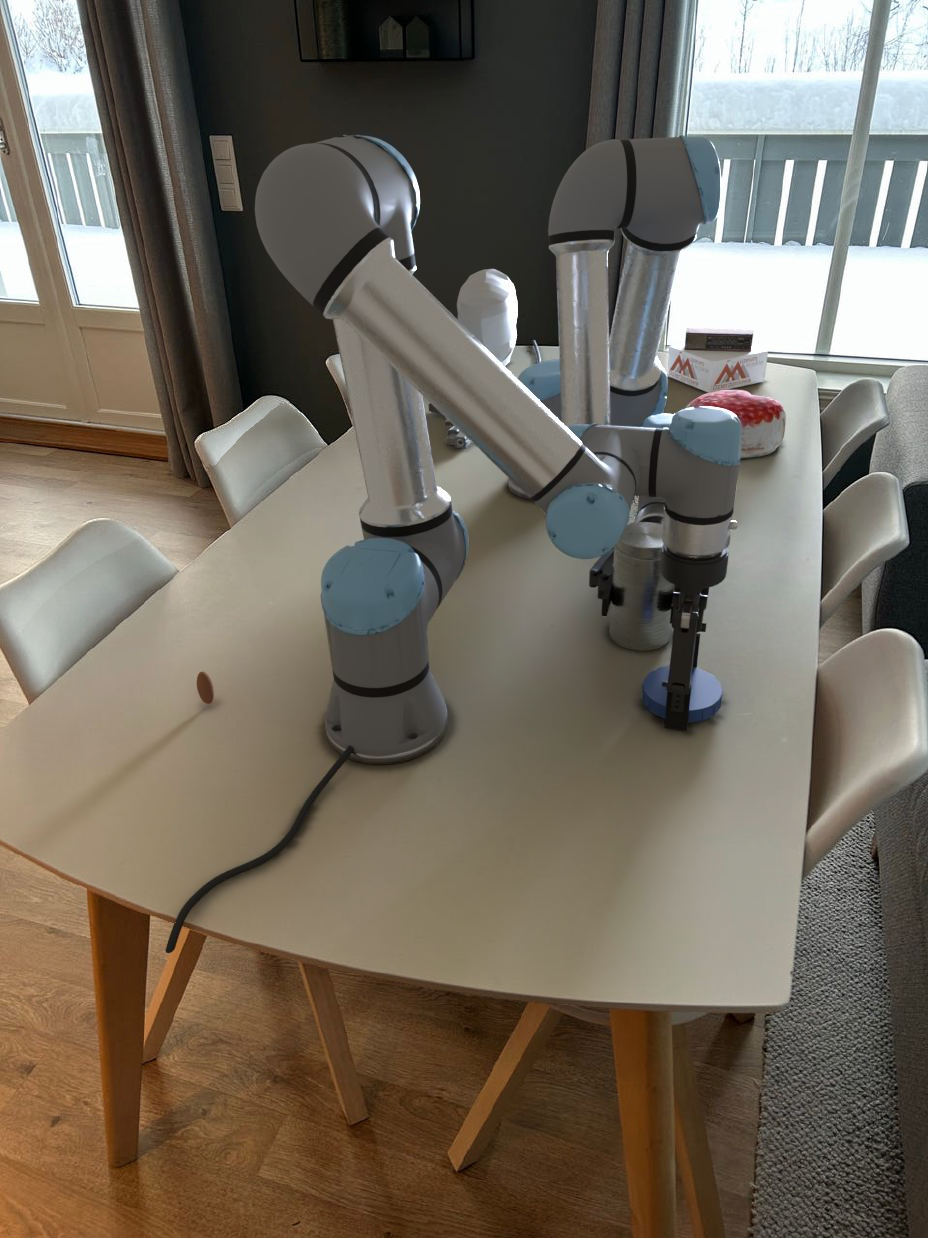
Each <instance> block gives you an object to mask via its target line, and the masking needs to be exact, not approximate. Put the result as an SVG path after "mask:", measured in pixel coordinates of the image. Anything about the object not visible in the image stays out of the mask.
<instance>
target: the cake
mask: <svg viewBox="0 0 928 1238" xmlns="http://www.w3.org/2000/svg"><path fill="white" fill-rule="evenodd" d="M698 407H716V408H721V409H724V410H727V411H730V412H732V413H733V414H735V415H736V416H737V417H738V418H739V420H740V422H741V425H742V438H741V455H740V459H747V458H755V457H756V458H757V457H764V456H766V455H770V454H771V453H773V452H775V451H776V450H777V448H779V447H780V446H781V444H782V442H783V439H784V437H785V431H786V425H787V414H786V411H785V409H784V407H783V405H782V404H781V403H780V402H779V401H778V400H776V399H775V398H773V397H769V396H762V395H756V394H752V393H751V392H749V391H747V390H743V389H727V390H721V391H717V392H711V393H708V392H706V393H705V394H702V395H700V396H698V397H696V398H695V399H693V400H692V401H690V402H689V403H688V404H687V405H686V406H685V408H684V409H686V408H698Z"/></svg>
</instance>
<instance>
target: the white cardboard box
mask: <svg viewBox="0 0 928 1238" xmlns="http://www.w3.org/2000/svg"><path fill="white" fill-rule="evenodd" d="M753 338H754V329H729V328H728V329H725V328H723V329H722V328H692V327H691V328H689V327H687V328H686V331H685V340H684V343H678V344H673V345H669V346H668V355H667V366H666V367H667V368H666V375H667V378H668V377H669V378H671V379H673V380H676V381H679V382H681V383H682V384H686V385H688V386H691V387H694V388H696V389H698V390H701V391H703V392H705V393H711V392H718V391H721V390H732V389H736V388H741V387H745V386H750V385H754V384H759V383H763V382H765V377H766V371H767V362H768V357H769V350H767V349H764V348H760V347H758V346H755V345H753Z"/></svg>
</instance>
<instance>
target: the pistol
mask: <svg viewBox="0 0 928 1238" xmlns="http://www.w3.org/2000/svg"><path fill="white" fill-rule="evenodd" d="M427 406H428V407H427V408H428V412H430V413H431V414H439V415H442V414H441V413H440V412H439V411H438V410H437V409H436V408H435V407H434V406H433V405H432V404H431V403H430V402H429V403H428V405H427ZM444 425H445V427H449V428H448V429H447V430H446V431H447V437H446V438H445V441H446V444H447V445H450V446H454V447H455V448H457V449H467V448H468V447H469V446H470V445H471V444H473V443H472V442H471V441H470V440H469V439H468V438H467V437H466V436H465V435H463V434H462V433H461V432H460V431H459V430H458V429H457V428H456V427H455V426H454V425H453V424H452V423H451V422H450V421H449V420H448V419H447V418H445V420H444Z"/></svg>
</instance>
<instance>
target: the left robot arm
mask: <svg viewBox="0 0 928 1238" xmlns="http://www.w3.org/2000/svg"><path fill="white" fill-rule="evenodd" d="M420 196H421V195H420V188H419V184H418V180H417V177H416V175H415V172H414V171H413V168H412V167H411V165H410V163H409V162H408V161H407V159H406V158H405V156H403V154H402V153H401V152H399V150H397V149H396V148H395V147H394V146H392V145H391V144H389V142H386V141H384V140H382V139H381V138H378V137H374V136H370V135H360V134H353V135H352V134H351V135H348V134H343V135H340V136H336V137H332V138H328V139H325V140H320V141H317V142H313V143H304V144H299V145H295V146H292V147H290V148H288V149H286V150H284V151H282V152H281V153H280V154H278V155H277V156H276V157H274V159H272V161H271V162H270V163H269V164H268V166H267V167H266V168H265V170H264V171H263V173H262V175H261V177H260V180H259V182H258V185H257V187H256V193H255V199H254V200H255V201H254V216H255V223H256V228H257V230H258V234H259V237H260V240H261V242H262V244H263V246H264V249H265V251H266V252H267V254H268V255H269V257H270V259H271V260H272V262H273V263H274V265H275V266H276V267H277V269H278V270H279V272H280V273H282V275H283V277H284V278H285V279H286V280H287V281H288V282H289V283H290V284H291V286H292V287H293V288H294V289H295V290H296V291H297V292H298V293H299V294H300V295H301V296H302V297H303V298H304V299H305V300H306V301H307V302H308V303H309V304H310V305H311V306H312V307H313V308H315V309H316V310H317V312H319V313H320V314H321V315H322V316H323V317H324V318H325V319H326V320H332V323H333V328H334V333H335V338H336V343H337V348H338V352H339V359H340V362H341V363H340V364H341V368H342V372H343V378H344V383H345V388H346V393H347V398H348V403H349V408H350V412H351V420H352V424H353V428H354V433H355V439H356V442H357V448H358V453H359V458H360V463H361V469H362V474H363V478H364V483H365V488H366V493H367V498H366V499H365V501H364V502H363V503H362V505H361V506H360V507H359V509H358V516H359V521H360V527H361V531H362V536H363V539H362V540H361V539H360V540H358V541H355V542H354V545H345V546H343V547H342V548H340V549H339V550H338V551H336V552H335V553H333V554H332V556H331V557H330V558H329V559H328V560H327V562H326V563H325V565H324V567H323V569H322V571H321V577H320V587H321V588H320V589H321V591H320V603H321V610H322V612H323V617H324V623H325V630H326V631H325V632H326V636H327V637H326V638H327V643H328V650H329V651H328V652H329V657H330V663H331V664H330V665H331V671H332V677H333V681H332V685H331V689H330V692H329V697H328V701H327V705H326V710H325V715H324V727H325V728H324V729H325V733H326V738H327V741H328V743H329V745H330V746H331V748H333V749H334V750H335V751H336V752H337V753H338V754H339V755H340V756H339V757H338V758H337V760H336V761H335V762H334V764H332V766H331V767H330V769H328V771H327V772H326V774H324V776H323V777H322V778H321V779H320V781H319V782H318V783H317V784H316V786H315V787H314V789H313V790H312V791H311V793H309V795H308V797H307V799H306V800H305V802H304V803H303V805H302V807H301V808H300V810H299V812H298V814H297V816H296V818H295V820H294V821H293V824H292V825H291V827H290V829H289V830H288V832H287V833H286V834H285V835H284V837H283V838H282V839H281V840H280V841H279V842H277V844H276V845H275V846H274V847H272V848H271V849H270V850H268V851H267V852H265V853H263V854H262V855H260V856H259V857H256V858H254V859H252V860H249V861H247V862H245V863H243V864H240V865H238V866H234V867H233V868H231V869H228V870H226V871H224V872H222V873H220V874H218V875H217V876H215V877H213V878H212V879H210V880H208V881H207V882H205V884H204V885H202V886H201V887H200V888H199V889H197V891H195V892H194V893H193V894H192V895H191V897H189V899H188V900H187V901H186V902H185V903H184V904H183V906H182V907H181V909H180V910H179V912H178V914H177V916H176V918H175V920H174V923H173V925H172V927H171V931H170V934H169V936H168V940H167V943H166V947H165V953H166V954H171V953H173V952H174V951H175V949H176V947H177V943H178V940H179V937H180V933H181V932H182V929H183V926H184V924H185V921H186V919H187V917H188V915H189V914H190V912H191V911H192V910H193V908H194V907H195V906H196V905H197V904H198V902H200V901H201V900H202V898H204V897H205V896H206V895H207V894H208V893H209V892H211V891H212V890H213V889H214V888H216V887H217V886H219V885H221V884H222V883H224V882H226V881H229V880H230V879H232V878H234V877H237V876H240V875H242V874H244V873H246V872H249V871H251V870H253V869H256V868H258V867H260V866H261V865H263V864H265V863H267V862H269V861H271V860H272V859H274V858H275V857H276V856H277V855H279V854H281V852H283V850H284V849H286V848H287V847H288V845H289V844H291V842H292V841H293V840H294V838H295V836H296V835H297V834H298V832H299V830H300V829H301V827H302V825H303V823H304V821H305V819H306V817H307V816H308V813H309V811H310V809H311V808H312V806H313V805H314V803H315V802H316V800H317V798H318V797H319V796H320V794H321V793H322V792H323V791H324V789H325V788H326V787H327V785H329V783H330V782H331V780H332V779H333V778H334V777H335V775H336V774H337V773H338V771H340V769H341V768H342V766H343V765H344V764H345V763H346V761H347V760H348V759H349V760H352V761H355V762H358V763H363V764H368V765H390V764H391V765H392V764H398V763H402V762H406V761H409V760H412V759H415V758H417V757H420V756H422V755H424V754H426V753H427V752H429V751H430V750H432V749H433V748H434V747H436V746H437V745H438V743H440V742H441V740H442V739H443V738H444V736H445V734H446V732H447V729H448V725H449V720H448V719H449V717H448V709H447V705H446V701H445V697H444V696H443V694H442V691H441V689H440V688H439V686H438V683H437V682H436V679H435V678H434V675H433V673H432V671H431V669H430V659H429V657H430V656H429V655H430V654H429V643H428V627H429V623H430V622H431V620H432V618H433V617H434V615H435V613H436V611H437V610H438V609H439V607H440V605H441V604H442V603H443V601H444V600H445V597H446V596H447V595H448V593H449V591H450V590H451V589H452V587H453V585H454V584H455V582H456V581H457V580H458V579H459V577H460V576H461V574H462V572H463V570H464V567H465V566H466V565H465V564H466V560H467V558H468V553H469V547H470V545H469V544H470V542H469V539H470V538H469V533H468V529H467V527H466V524H465V522H464V520H463V518H462V517H461V515H460V514H459V513H458V512H455V510H454V509H453V504H452V498H451V495H450V494H449V493H448V492H447V491H446V490H444V489H443V488H441V487H440V486H438V485H437V480H436V474H435V467H434V461H433V455H432V449H431V444H430V443H431V442H430V436H429V430H428V429H429V428H428V424H427V423H428V422H427V419H426V418H427V417H426V410H425V404H424V403H425V402H424V398H425V400H427V402H429V403H431V404H432V405H433V406H434V407H435V408H436V409H437V410H438V411H439V412H440V413H441V414H440V415H442V416H443V417H444V418H445V419H448V420H449V421H450V422H451V423H452V424H453V425H454V426H455V427H456V428H457V429H458V430H459V431H460V432H461V433H462V434H463V435H465V436H466V437H467V438H468V439H469V440H470V441H471V442H472V443H471V444H473V445H474V446H475V447H476V448H477V449H478V450H479V451H480V452H481V453H482V454H483V455H484V456H485V457H486V458H487V459H488V460H490V461H491V462H492V463H493V464H494V465H495V466H496V467H497V469H499V470H500V471H501V473H503V474H504V475H505V476H506V477H507V478H508V477H509V478H510V479H511V480H512V481H513V482H514V483H515V484H516V485H517V486H518V487H519V488H520V489H521V490H522V491H523V492H524V493H525V494H526V495H527V496H528V497H529V498H530V499H531V501H532V502H533V503H534V504H535V505H536V506H537V507H538V508H539V509H540V510H541V511H542V512H543V513H544V514H545V517H546V518H545V528H546V532H547V535H548V537H549V539H550V541H551V543H552V545H553V546H554V547H555V548H556V549H557V550H558V551H559V552H561V553H562V554H564V555H565V556H568V557H570V558H574V559H577V560H578V559H579V560H593V559H597V558H600V557H601V556H602V555H604V554H606V553H607V552H609V551H611V550H612V548H613V547H614V546H615V545H616V544H617V542H618V540H619V539H620V537H621V535H622V533H623V531H624V529H625V528H626V527H627V525H628V524H629V521H630V512H631V508H632V504H633V502H634V499H635V497H639V496H647V497H665V500H666V502H665V508H664V518H663V532H662V541H663V543H664V544H663V545H662V552H661V565H660V571H661V574H662V576H663V577H664V578H665V579H666V580H667V581H668V582H670V583H672V584H674V585H675V592H673V598H672V605H673V616H672V624H671V629H672V630H673V632H672V641H671V651H670V661H669V666H670V668H669V677H668V682H666V681H662V686H663V687H666V688H667V701H666V713H665V719H664V727H663V728H667V729H672V730H673V729H674V730H681V731H688V727H689V722H688V717H689V707H690V697H691V687H692V683H691V674H692V667H695V668H698V661H699V653H700V652H699V650H700V642H701V633H706V631H707V623H706V622H704V621H703V619H704V613H705V610H707V606H708V598H709V592H710V588H713V587H715V586H717V585H719V584H721V583H722V582H724V580H725V579H726V577H727V572H728V565H729V564H728V563H729V555H730V550H729V548H728V547H729V546H730V544H731V543H730V542H731V535H732V531H734V530H737V529H738V526H739V524H738V521H736V520H733V516H734V509H735V501H736V494H737V486H738V479H739V471H740V465H741V464H740V463H741V458H740V455H741V438H742V425H741V422H740V420H739V418H738V417H737V416H736V415H735V414H733V413H732V412H730V411H727V410H724V409H721V408H716V407H698V408H686V407H685V408H686V409H685V408H682V409H679V410H678V411H676V412H675V413H674V416H673V417H672V420H671V424H670V426H669V428H663V429H661V428H643V427H627V426H611V425H601V424H597V423H594V424H588V425H570V426H568V427H566V426H565V425H564V424H563V423H562V422H560V421H559V420H558V419H557V418H556V417H555V416H554V415H553V414H552V413H551V412H550V411H549V410H548V409H547V408H546V407H545V406H544V405H543V404H542V403H541V402H540V401H539V400H538V399H537V398H536V397H535V396H534V395H533V394H532V393H531V392H530V391H529V390H528V389H527V388H526V387H525V386H524V385H523V384H522V383H521V382H520V381H519V380H518V378H517V377H516V376H515V375H514V373H512V372H511V370H509V368H508V367H506V366H504V365H503V364H502V363H501V362H500V361H499V360H498V359H497V358H496V357H495V356H494V355H493V354H492V353H491V352H490V351H489V350H488V349H487V348H486V347H485V346H484V345H483V344H482V343H481V342H480V341H479V340H478V339H477V338H476V337H475V336H474V335H473V334H472V333H471V332H470V331H469V330H468V329H467V328H466V327H465V326H463V325H462V324H461V323H460V322H459V321H458V318H457V317H455V316H454V314H453V313H452V312H451V311H450V310H448V309H447V308H446V306H444V304H443V303H441V302H440V301H439V299H437V297H436V296H434V294H433V293H431V292H430V291H429V290H428V289H427V287H425V286H424V284H422V283H421V282H420V281H419V279H417V278H416V277H415V276H414V273H415V272H416V270H417V263H416V256H415V248H414V242H413V234H412V231H413V230H414V228H415V226H416V223H417V220H418V217H419V213H420V207H421V206H420V205H421V197H420ZM700 632H701V633H700ZM175 922H176V923H175Z"/></svg>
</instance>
